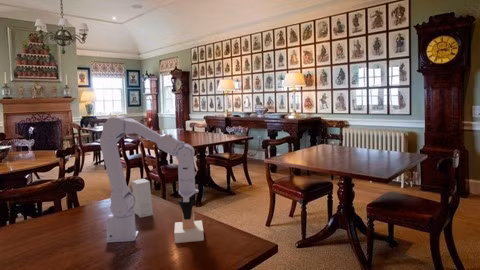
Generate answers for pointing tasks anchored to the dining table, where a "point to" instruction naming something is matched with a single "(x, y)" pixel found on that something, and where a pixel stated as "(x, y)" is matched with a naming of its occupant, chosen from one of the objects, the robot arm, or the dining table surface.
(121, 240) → the robot arm
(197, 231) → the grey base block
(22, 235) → the dining table surface
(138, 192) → the skincare box
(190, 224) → the terracotta block
